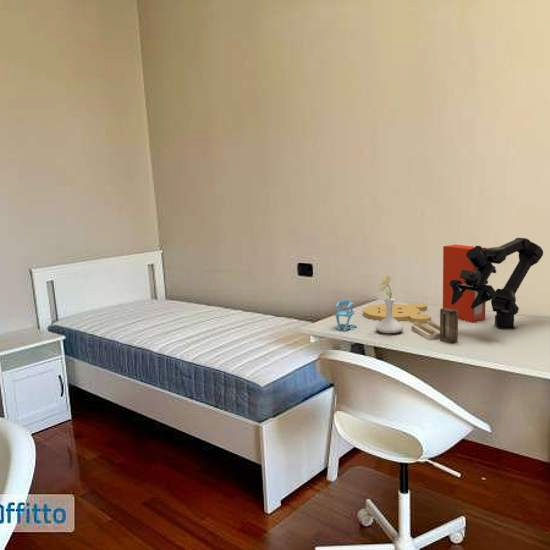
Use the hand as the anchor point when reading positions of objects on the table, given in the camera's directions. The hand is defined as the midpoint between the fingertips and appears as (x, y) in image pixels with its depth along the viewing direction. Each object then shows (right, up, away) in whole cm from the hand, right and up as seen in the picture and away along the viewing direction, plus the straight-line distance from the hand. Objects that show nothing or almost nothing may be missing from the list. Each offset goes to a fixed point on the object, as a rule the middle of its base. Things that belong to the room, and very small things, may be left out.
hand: (461, 306), depth 203 cm
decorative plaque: (-16, -7, +42) cm, 46 cm away
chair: (-42, -11, +22) cm, 49 cm away
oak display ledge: (-9, -12, +9) cm, 18 cm away
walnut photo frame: (-6, -13, -1) cm, 15 cm away
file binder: (+12, -7, +33) cm, 36 cm away
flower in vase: (-25, -12, +14) cm, 31 cm away
